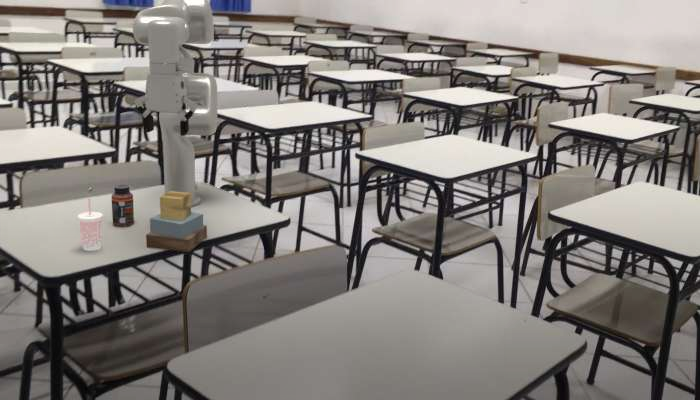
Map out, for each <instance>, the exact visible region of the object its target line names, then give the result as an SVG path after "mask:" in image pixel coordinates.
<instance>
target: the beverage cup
mask: <svg viewBox="0 0 700 400" xmlns="http://www.w3.org/2000/svg"><path fill="white" fill-rule="evenodd" d="M87 200H88V201H87V202H88V211H86V212H82V213H79V214H78V215H77V219H78V222H79V228H80V236H81V242H82V249H83V250H84V251H86V252H92V251H93V252H94V251H98V250H101V248H103V247H102V246H103V245H102V244H103V243H102V239H103V235H102V234H103V233H102V229H103V228H102V227H103V224H102V223H103V222H102V221H103V218H104V217H103V213H102V212H99V211H92V209H91V208H92V207H91V196H87Z"/></svg>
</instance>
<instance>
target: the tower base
mask: <svg viewBox="0 0 700 400" xmlns="http://www.w3.org/2000/svg"><path fill="white" fill-rule="evenodd" d="M207 228H208V226H207V225H204V224H203V228H202V229H200V230H198V231H196V232H194V233H192V234H190V235H188V236H186V237H185V238H183V239H180V238H175V237H170V236H165V235H160V234H156V233H151V232H148V233H146V234H145V239H146V248H150V249H151V248H152V249H159V250H168V251H174V252H175V251H177V252H181V253H182V252H183V253H190V252H191V251H192V250H194V249H195V248H196V247H197V246H199V244H200V243H203V241H204V240H206V238H208V235H207V234H208V232H207V231H208V229H207Z"/></svg>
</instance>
